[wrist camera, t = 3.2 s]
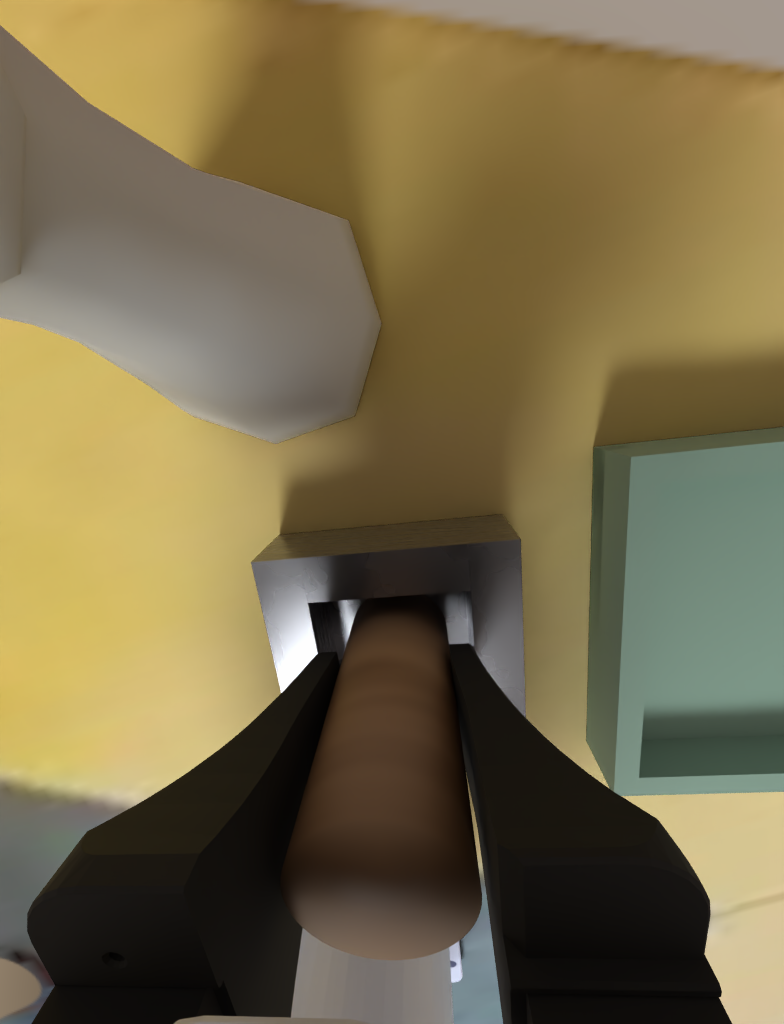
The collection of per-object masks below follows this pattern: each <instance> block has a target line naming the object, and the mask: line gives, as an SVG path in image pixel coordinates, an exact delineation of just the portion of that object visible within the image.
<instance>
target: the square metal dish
mask: <svg viewBox="0 0 784 1024" xmlns="http://www.w3.org/2000/svg"><path fill="white" fill-rule="evenodd" d="M251 564H252V569H253V573H254V577H255V582H256V586H257V590H258V595H259V599H260V603H261V608H262V612H263V616H264V621H265V625H266V629H267V633H268V638H269V642H270V646H271V651H272V655H273V659H274V664H275V668H276V672H277V677H278V681H279V685H280V690H281V693H282V692H283V691H284V690H285V689H286V688H287V687H288V686H289V685H290V683H291V682H292V681H293V680H294V679H295V678H296V677H297V676H298V675H299V674H300V672H301V671H302V670H303V669H304V668H305V667H306V666H307V665H308V664H309V662H310V661H311V660H312V659H313V658H314V657H315V656H316V655H317V654H318V653H322V652H337V654H338V660H339V665H340V666H341V662H342V659H343V655H344V652H345V648H346V645H347V641H348V638H349V634H350V631H351V627H352V624H353V620H354V617H355V615H356V612H357V610H358V609H359V607H360V606H361V605H362V603H363V602H364V601H365V600H367V599H368V598H381V597H394V596H407V595H421V594H423V595H425V596H426V597H428V598H429V599H431V600H432V601H433V602H434V603H435V604H436V605H437V606H438V607H439V609H440V610H441V612H442V614H443V616H444V618H445V621H446V626H447V633H448V640H449V644H465V643H469V644H471V645H472V646H473V648H474V650H475V652H476V654H477V655H478V657H479V659H480V660H481V662H482V663H483V665H484V667H485V668H486V670H487V671H488V672H489V674H490V675H491V677H492V678H493V679H494V681H495V682H496V683H497V685H498V686H499V687H500V689H501V690H502V691H503V692H504V694H505V695H506V696H507V697H508V699H509V700H510V701H511V702H512V703H513V704H514V706H515V707H516V708H517V709H518V710H519V711H520V712H521V713H522V715H523V716H524V717H525V718H526V711H525V674H524V638H523V602H522V566H521V539H520V538H519V536H518V535H517V533H516V532H515V531H514V529H513V528H512V527H511V525H510V524H509V523H508V521H507V520H506V519H505V517H504V516H503V515H502V514H500V515H489V516H478V517H467V518H456V519H446V520H435V521H424V522H413V523H402V524H391V525H380V526H369V527H359V528H348V529H337V530H326V531H315V532H304V533H293V534H283V535H278V536H277V537H276V538H275V539H274V540H273V541H272V542H271V543H270V544H269V545H268V546H267V547H266V548H265V549H264V550H263V551H262V552H261V553H260V554H259V555H258V556H257V557H256V558H255V559H254V560H253V561H252V562H251Z"/></svg>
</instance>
